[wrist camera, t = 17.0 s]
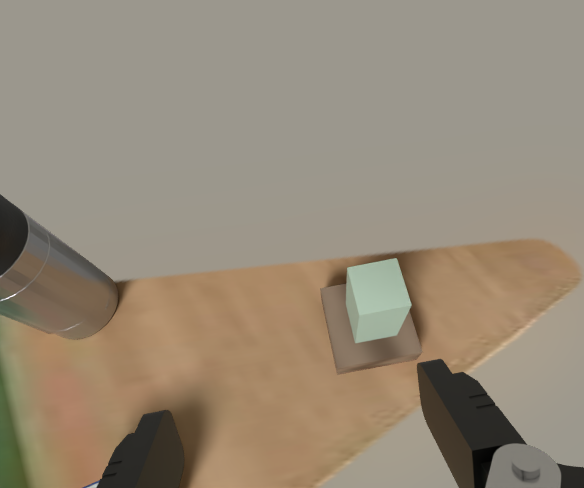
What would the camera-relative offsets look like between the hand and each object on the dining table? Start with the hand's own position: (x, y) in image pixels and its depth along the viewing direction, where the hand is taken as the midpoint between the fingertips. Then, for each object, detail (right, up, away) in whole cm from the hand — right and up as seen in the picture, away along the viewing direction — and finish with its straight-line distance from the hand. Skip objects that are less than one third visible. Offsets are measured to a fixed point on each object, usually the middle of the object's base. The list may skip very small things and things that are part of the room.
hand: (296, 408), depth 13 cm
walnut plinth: (+9, -5, +35) cm, 36 cm away
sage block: (+8, -3, +31) cm, 32 cm away
